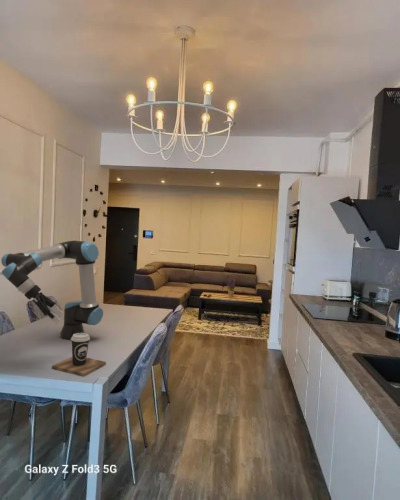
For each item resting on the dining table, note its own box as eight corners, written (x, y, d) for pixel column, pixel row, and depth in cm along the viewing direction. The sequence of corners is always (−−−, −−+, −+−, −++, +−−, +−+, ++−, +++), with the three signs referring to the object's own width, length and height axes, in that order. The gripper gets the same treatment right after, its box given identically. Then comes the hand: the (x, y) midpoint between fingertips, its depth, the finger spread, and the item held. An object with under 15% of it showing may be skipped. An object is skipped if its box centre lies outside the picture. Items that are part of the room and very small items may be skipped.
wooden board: (51, 368, 178) (51, 365, 178) (75, 357, 195) (75, 355, 195) (83, 376, 171) (84, 373, 171) (105, 364, 188) (105, 361, 188)
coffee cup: (91, 360, 189) (92, 333, 188) (85, 367, 179) (87, 338, 178) (73, 359, 188) (74, 331, 188) (66, 366, 179) (68, 337, 178)
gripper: (28, 289, 188) (57, 317, 193) (17, 299, 164) (50, 330, 169) (39, 280, 189) (68, 307, 194) (30, 288, 165) (63, 319, 170)
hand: (60, 318), depth 182 cm, fingers open, 13 cm apart
